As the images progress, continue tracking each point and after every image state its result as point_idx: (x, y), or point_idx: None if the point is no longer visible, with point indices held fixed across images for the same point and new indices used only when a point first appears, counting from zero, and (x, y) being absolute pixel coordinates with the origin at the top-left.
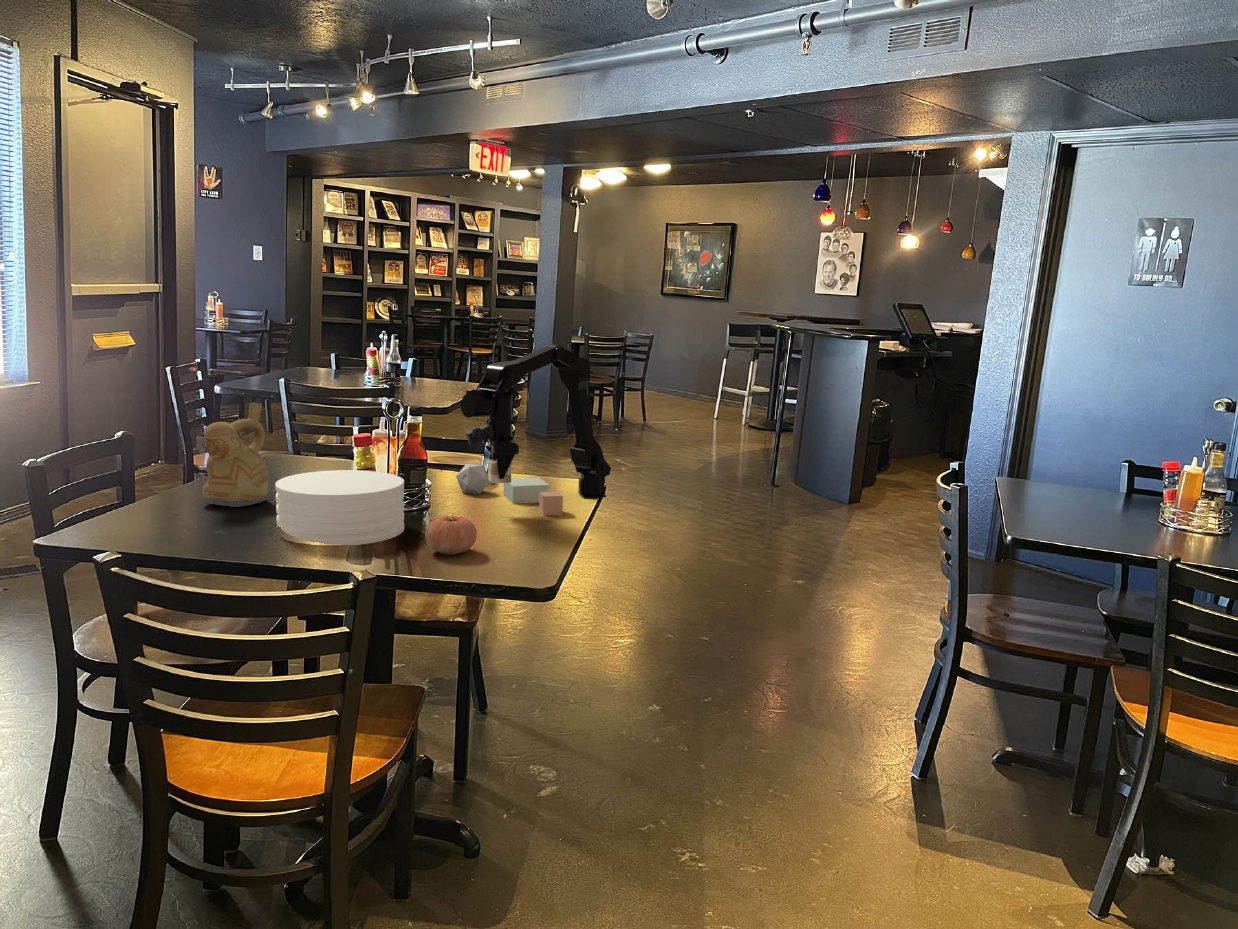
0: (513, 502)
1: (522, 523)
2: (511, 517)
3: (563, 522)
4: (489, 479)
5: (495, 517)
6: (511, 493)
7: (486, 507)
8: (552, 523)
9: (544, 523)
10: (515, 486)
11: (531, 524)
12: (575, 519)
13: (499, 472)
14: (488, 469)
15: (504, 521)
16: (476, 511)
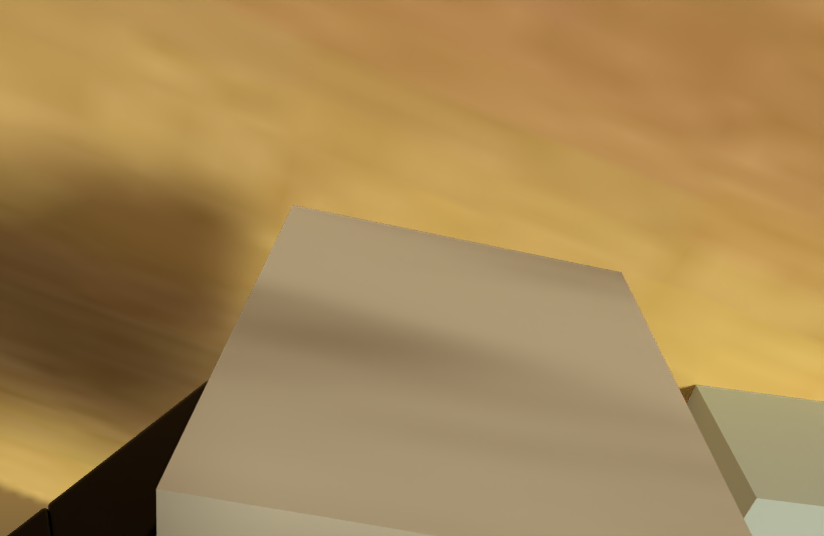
0: (697, 394)
1: (63, 219)
2: (274, 218)
3: (69, 443)
4: (467, 254)
5: (309, 96)
6: (772, 443)
7: (701, 163)
8: (48, 386)
9: (51, 347)
10: (745, 510)
11: (27, 264)
12: None
13: (158, 431)
14: (622, 381)
15: (148, 114)
16: (606, 12)
